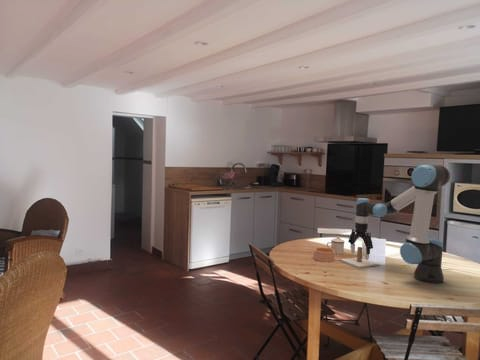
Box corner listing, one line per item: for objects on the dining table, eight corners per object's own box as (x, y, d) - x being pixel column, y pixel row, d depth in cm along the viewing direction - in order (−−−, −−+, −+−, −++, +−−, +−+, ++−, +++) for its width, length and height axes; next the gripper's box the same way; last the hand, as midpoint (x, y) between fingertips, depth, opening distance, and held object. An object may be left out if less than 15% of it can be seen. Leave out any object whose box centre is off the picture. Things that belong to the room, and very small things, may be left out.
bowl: (338, 261, 235) (339, 251, 235) (322, 263, 229) (323, 253, 229) (325, 256, 247) (325, 247, 247) (309, 258, 241) (310, 248, 241)
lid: (378, 265, 229) (379, 249, 228) (359, 267, 221) (360, 251, 221) (359, 258, 243) (360, 243, 242) (340, 260, 236) (341, 245, 235)
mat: (381, 266, 228) (381, 265, 228) (359, 269, 219) (359, 268, 219) (359, 258, 245) (359, 257, 245) (337, 261, 236) (337, 260, 236)
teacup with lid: (343, 252, 261) (344, 236, 260) (344, 255, 252) (345, 238, 252) (326, 250, 264) (327, 234, 263) (326, 253, 255) (327, 237, 254)
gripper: (380, 225, 222) (378, 261, 223) (352, 219, 243) (350, 251, 244) (371, 226, 218) (369, 262, 220) (343, 219, 239) (341, 252, 241)
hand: (359, 256), depth 232 cm, fingers open, 11 cm apart
